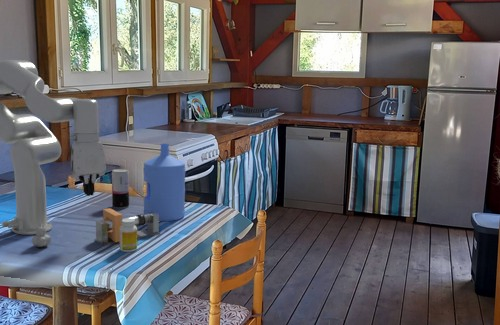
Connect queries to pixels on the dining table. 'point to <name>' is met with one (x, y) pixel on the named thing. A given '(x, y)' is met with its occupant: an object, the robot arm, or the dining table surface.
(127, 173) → the beverage can
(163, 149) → the water jug
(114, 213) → the collar
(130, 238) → the supplement bottle
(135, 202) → the dining table surface
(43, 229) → the grey figurine
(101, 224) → the pipe rig
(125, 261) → the dining table surface
